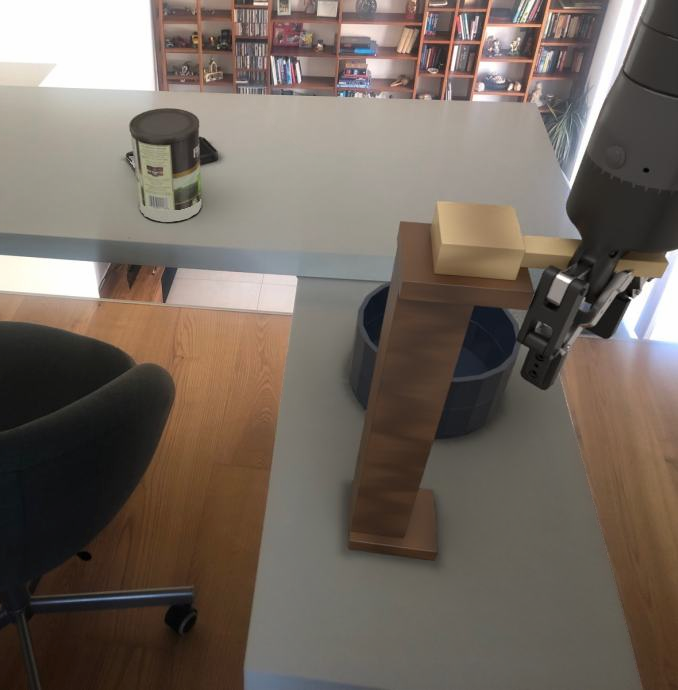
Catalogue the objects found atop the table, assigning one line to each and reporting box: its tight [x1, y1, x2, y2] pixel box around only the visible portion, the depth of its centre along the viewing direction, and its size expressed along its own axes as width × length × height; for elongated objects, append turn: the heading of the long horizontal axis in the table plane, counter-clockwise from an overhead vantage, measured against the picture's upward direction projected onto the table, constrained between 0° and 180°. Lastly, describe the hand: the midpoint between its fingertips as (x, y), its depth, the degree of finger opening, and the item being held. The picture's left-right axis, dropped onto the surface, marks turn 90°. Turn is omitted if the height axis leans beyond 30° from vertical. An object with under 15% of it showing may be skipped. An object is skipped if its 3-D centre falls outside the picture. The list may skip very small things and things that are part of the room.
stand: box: [347, 220, 535, 561], centre depth 57 cm, size 8×7×32 cm
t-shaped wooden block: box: [430, 200, 670, 280], centre depth 44 cm, size 14×5×2 cm, turn 80°
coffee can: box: [128, 107, 202, 211], centre depth 106 cm, size 10×10×14 cm
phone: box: [125, 136, 219, 173], centre depth 122 cm, size 8×1×15 cm
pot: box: [348, 281, 522, 439], centre depth 78 cm, size 17×17×9 cm
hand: (567, 356), depth 51 cm, fingers open, 8 cm apart
